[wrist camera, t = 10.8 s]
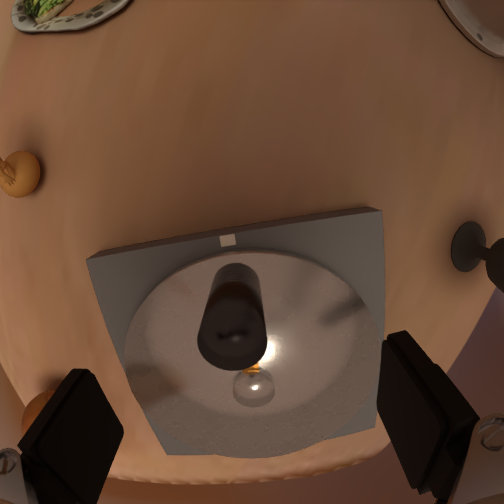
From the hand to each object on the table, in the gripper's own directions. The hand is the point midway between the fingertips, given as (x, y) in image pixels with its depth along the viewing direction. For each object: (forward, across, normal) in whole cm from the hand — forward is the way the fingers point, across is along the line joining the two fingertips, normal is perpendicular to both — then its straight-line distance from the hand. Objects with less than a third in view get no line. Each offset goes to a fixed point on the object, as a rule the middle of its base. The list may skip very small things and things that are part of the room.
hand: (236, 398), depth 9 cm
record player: (+12, +1, +9) cm, 15 cm away
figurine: (+15, +17, -11) cm, 26 cm away
